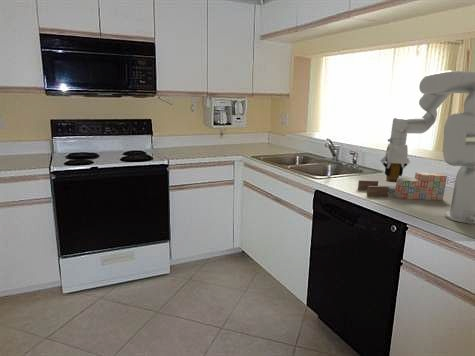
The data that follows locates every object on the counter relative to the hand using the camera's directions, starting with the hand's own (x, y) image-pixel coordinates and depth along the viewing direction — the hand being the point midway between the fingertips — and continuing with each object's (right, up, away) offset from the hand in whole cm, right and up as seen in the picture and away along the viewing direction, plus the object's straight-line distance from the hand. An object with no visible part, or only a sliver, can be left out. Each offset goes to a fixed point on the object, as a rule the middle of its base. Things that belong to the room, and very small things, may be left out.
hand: (393, 175), depth 188 cm
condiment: (+1, -3, +1) cm, 4 cm away
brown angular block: (-14, -9, -7) cm, 18 cm away
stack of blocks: (+7, -12, -13) cm, 18 cm away
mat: (0, -8, +2) cm, 8 cm away
